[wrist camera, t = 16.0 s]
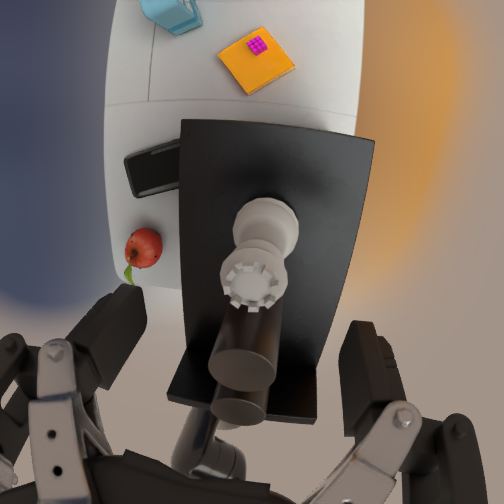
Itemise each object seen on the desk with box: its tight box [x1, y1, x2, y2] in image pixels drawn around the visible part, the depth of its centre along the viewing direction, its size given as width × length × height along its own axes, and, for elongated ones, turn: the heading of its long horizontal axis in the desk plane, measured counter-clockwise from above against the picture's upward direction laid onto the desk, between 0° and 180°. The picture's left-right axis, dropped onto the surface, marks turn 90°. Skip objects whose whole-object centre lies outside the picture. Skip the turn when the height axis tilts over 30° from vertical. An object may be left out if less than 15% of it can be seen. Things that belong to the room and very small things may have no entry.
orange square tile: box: [217, 27, 295, 95], centre depth 32 cm, size 8×8×4 cm
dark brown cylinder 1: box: [208, 295, 284, 392], centre depth 19 cm, size 4×4×8 cm
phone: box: [124, 138, 180, 198], centre depth 42 cm, size 8×1×15 cm
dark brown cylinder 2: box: [210, 382, 270, 426], centre depth 21 cm, size 4×4×8 cm
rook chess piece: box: [220, 198, 299, 312], centre depth 16 cm, size 4×4×8 cm
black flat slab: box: [167, 119, 375, 425], centre depth 19 cm, size 22×13×7 cm, turn 175°
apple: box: [124, 228, 162, 285], centre depth 45 cm, size 8×7×10 cm
